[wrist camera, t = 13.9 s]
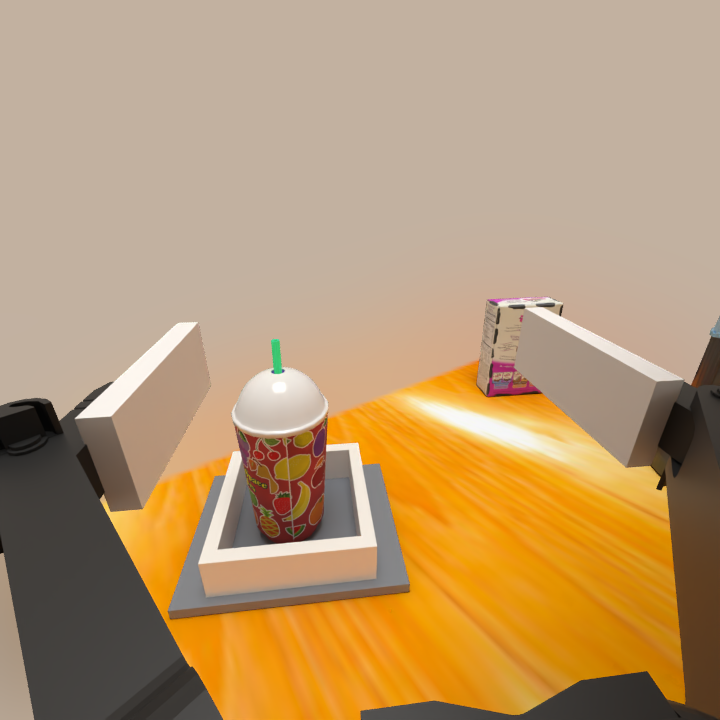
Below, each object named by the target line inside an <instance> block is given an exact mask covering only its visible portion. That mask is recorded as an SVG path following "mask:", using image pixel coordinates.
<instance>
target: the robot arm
mask: <svg viewBox="0 0 720 720" xmlns="http://www.w3.org/2000/svg"><path fill="white" fill-rule="evenodd" d="M710 335H711V339H710V342H709V344H708V346H707V348H706V351H705V353H704V356H703V358H702V360H701V363H700V365H699V368H698V370H697V372H696V375H695V377H694V380H693V382H692V384H691V385H689V384H688V383H686V382H684V379H682V378H680V377H678V376H676V375H674V374H672V373H670V372H668V371H667V370H665V369H662V368H661V367H659V366H656V365H655V364H653V363H651V362H649V361H647V360H645V359H643V358H641V357H639V356H637V355H635V354H633V353H631V352H629V351H627V350H625V349H623V348H621V347H619V346H617V345H615V344H613V343H612V342H610V341H608V340H606V339H604V338H602V337H600V336H598V335H596V334H593V333H592V332H590V331H588V330H586V329H584V328H582V327H580V326H578V325H576V324H574V323H572V322H570V321H568V320H566V319H564V318H562V317H560V316H558V315H556V314H555V313H553V312H551V311H549V310H547V309H545V308H543V307H535V308H525V309H524V314H523V320H522V326H521V331H520V337H519V343H518V349H517V354H516V360H515V366H514V368H515V369H516V370H517V371H518V372H519V373H521V374H522V375H523V376H524V377H525V378H526V379H527V380H528V381H529V382H531V383H532V384H533V385H534V386H535V387H536V388H537V389H538V390H540V391H541V392H542V393H543V394H544V395H545V396H546V397H547V398H549V399H550V400H551V401H552V402H553V403H554V404H555V405H556V406H558V407H559V408H560V409H561V410H562V411H563V412H564V413H565V414H567V415H568V416H569V417H570V418H571V419H572V420H573V421H574V422H576V423H577V424H578V425H579V426H580V427H581V428H582V429H583V430H585V431H586V432H587V433H588V434H589V435H590V436H591V437H592V438H594V439H595V440H596V441H597V442H598V443H599V444H600V445H601V446H602V447H604V448H605V449H606V450H607V451H608V452H609V453H610V454H611V455H613V456H614V457H615V458H616V459H617V460H618V461H619V462H620V463H622V464H623V465H624V466H625V467H626V468H628V467H640V466H651V465H652V467H653V468H654V469H655V470H656V471H657V472H658V473H659V474H660V475H661V478H660V481H659V483H658V486H657V488H656V489H658V490H662V488H663V486H667V496H668V507H669V518H670V529H671V540H672V551H673V561H674V572H675V583H676V594H677V605H678V616H679V627H680V638H681V649H682V660H683V671H684V682H685V697H686V702H685V705H684V704H681V703H677V702H674V701H671V700H667V699H666V698H665V697H664V695H663V694H662V692H661V691H660V689H659V688H658V686H657V685H656V683H655V682H654V681H653V679H652V678H651V676H650V675H649V673H648V672H647V671H646V672H638V673H631V674H624V675H617V676H610V677H602V678H595V679H588V680H581V681H579V682H577V683H576V684H574V685H572V686H570V687H569V688H567V689H565V690H564V691H562V692H560V693H558V694H557V695H555V696H553V697H552V698H550V699H548V700H546V701H545V702H543V703H541V704H540V705H538V706H536V707H534V708H533V709H531V710H529V711H528V712H526V713H524V714H521V715H508V714H503V713H497V712H492V711H487V710H481V709H476V708H471V707H465V706H460V705H455V704H449V703H444V702H439V701H429V702H422V703H415V704H407V705H400V706H393V707H386V708H379V709H371V710H364V711H361V720H720V317H719V319H718V321H717V323H716V325H715V327H714V328H712V329H711V331H710ZM210 387H211V382H210V377H209V372H208V367H207V363H206V358H205V352H204V348H203V342H202V337H201V333H200V327H199V323H198V322H191V323H177V324H176V325H175V326H174V327H173V328H172V329H171V330H170V331H169V332H168V333H166V334H165V335H164V336H163V337H162V338H161V339H160V340H159V341H158V342H157V343H156V344H155V345H154V346H153V347H151V348H150V349H149V350H148V351H147V352H146V353H145V354H144V355H143V356H142V357H141V358H140V359H139V360H137V361H136V362H135V363H134V364H133V365H132V366H131V367H130V368H129V369H128V370H127V371H126V372H124V373H123V374H122V375H121V376H120V377H119V378H118V379H117V380H116V381H115V382H109V383H107V384H106V385H104V386H102V387H100V388H98V389H96V390H94V391H93V392H92V393H91V394H90V395H89V396H87V397H86V398H85V399H84V400H83V402H80V403H79V404H78V405H77V406H76V407H75V408H74V410H72V411H70V412H69V413H68V414H67V415H66V416H65V417H64V418H62V419H61V420H60V421H59V420H58V417H57V415H56V413H55V410H54V408H53V405H52V403H51V402H50V401H49V400H47V399H41V398H33V399H24V400H19V401H15V402H10V403H7V404H4V405H1V406H0V554H1V553H4V557H5V562H6V567H7V573H8V579H9V584H10V589H11V595H12V600H13V606H14V611H15V617H16V622H17V627H18V633H19V638H20V644H21V649H22V655H23V660H24V665H25V671H26V676H27V681H28V687H29V693H30V698H31V704H32V709H33V714H34V720H223V718H222V717H221V715H220V713H219V711H218V709H217V707H216V706H215V704H214V702H213V700H212V698H211V696H210V695H209V693H208V691H207V689H206V687H205V686H204V684H203V682H202V680H201V679H200V677H199V675H198V674H197V672H196V671H195V669H194V668H193V667H190V666H189V665H188V664H187V662H186V660H185V658H184V657H183V655H182V653H181V651H180V649H179V647H178V646H177V644H176V642H175V640H174V638H173V636H172V634H171V632H170V631H169V629H168V627H167V625H166V623H165V621H164V619H163V618H162V616H161V614H160V612H159V610H158V608H157V606H156V604H155V603H154V601H153V599H152V597H151V595H150V593H149V591H148V589H147V588H146V586H145V584H144V582H143V580H142V578H141V576H140V574H139V573H138V571H137V569H136V567H135V565H134V563H133V561H132V560H131V558H130V556H129V554H128V552H127V550H126V548H125V546H124V545H123V543H122V541H121V539H120V537H119V535H118V533H117V531H116V530H115V528H114V526H113V524H112V522H111V520H110V518H109V516H108V515H107V513H106V511H105V509H104V507H103V505H102V503H101V502H100V498H101V497H102V495H103V494H104V496H105V498H106V501H107V504H108V506H109V509H110V511H111V512H114V511H126V510H137V509H143V508H144V506H145V504H146V502H147V500H148V499H149V497H150V495H151V493H152V491H153V489H154V488H155V486H156V484H157V482H158V480H159V479H160V477H161V475H162V473H163V471H164V470H165V468H166V466H167V464H168V462H169V461H170V459H171V457H172V455H173V453H174V451H175V450H176V448H177V446H178V444H179V443H180V441H181V439H182V437H183V435H184V434H185V432H186V430H187V428H188V426H189V425H190V423H191V421H192V419H193V417H194V416H195V414H196V412H197V410H198V408H199V406H200V405H201V403H202V401H203V399H204V398H205V396H206V394H207V392H208V390H209V389H210Z"/></svg>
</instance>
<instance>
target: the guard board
mask: <svg viewBox="0 0 720 720" xmlns="http://www.w3.org/2000/svg"><path fill="white" fill-rule="evenodd" d="M409 585H410V584H409V580H408V576H407V572H406V568H405V564H404V560H403V556H402V552H401V548H400V544H399V540H398V536H397V532H396V528H395V524H394V520H393V516H392V512H391V508H390V504H389V500H388V496H387V492H386V488H385V484H384V480H383V476H382V472H381V468H380V464H370V465H362V462H361V456H360V451H359V446H358V443H349V444H335V445H326V467H325V491H324V514H323V516H322V519H321V522H320V523H319V524H318V525H317V528H316V530H315V531H314V532H313V533H312V535H311V536H309V537H308V538H306V539H305V540H304V541H301V542H292V543H282V544H277V543H275V542H273V541H271V540H269V539H268V538H267V537H266V535H264V534H263V533H262V532H261V531H260V530H259V528H258V527H257V523H256V519H255V515H254V510H253V506H252V501H251V497H250V492H249V488H248V483H247V479H246V475H245V470H244V466H243V461H242V457H241V452H240V451H234V452H233V454H232V457H231V460H230V464H229V467H228V470H227V473H226V475H225V476H215V478H214V481H213V484H212V487H211V489H210V492H209V495H208V498H207V501H206V504H205V507H204V509H203V512H202V515H201V518H200V521H199V524H198V526H197V529H196V532H195V535H194V538H193V541H192V544H191V546H190V549H189V552H188V555H187V558H186V561H185V564H184V566H183V569H182V572H181V575H180V578H179V581H178V584H177V586H176V589H175V592H174V595H173V598H172V601H171V604H170V606H169V609H168V613H169V616H170V619H175V618H184V617H192V616H201V615H210V614H219V613H227V612H236V611H245V610H253V609H262V608H271V607H280V606H288V605H297V604H306V603H315V602H323V601H332V600H341V599H350V598H358V597H367V596H376V595H385V594H393V593H402V592H409Z"/></svg>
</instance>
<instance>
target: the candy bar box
mask: <svg viewBox="0 0 720 720" xmlns="http://www.w3.org/2000/svg"><path fill="white" fill-rule="evenodd" d="M535 307H543V308H545V309H547V310H549V311H551V312H553V313H555V314H556V315H558V316H560V317H561V313H562V308H563V303H562V302H559V301H557V300H554V299H551V298H550V297H531V298H530V297H529V298H509V299H490V300H489V299H488V300H487V304H486V312H485V320H484V321H485V322H484V329H483V336H482V344H481V353H480V360H479V368H478V376H477V386H478V387H479V389H481V390H482V391H483V393H484V394H485V395H486V396H487V397H492V396H506V395H519V394H532V393H542V392H541V391H540V390H538V389H537V388H536V387H535V386H534V385H533V384H532V383H531V382H529V381H528V380H527V379H526V378H525V377H524V376H523V375H522V374H521V373H519V372H518V371H517V370H516V369H515V368H514V366H515V360H516V354H517V349H518V343H519V337H520V331H521V326H522V320H523V314H524V309H525V308H535Z"/></svg>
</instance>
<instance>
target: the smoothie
mask: <svg viewBox="0 0 720 720" xmlns="http://www.w3.org/2000/svg"><path fill="white" fill-rule="evenodd" d="M271 344H272V355H273V367H274V368H270V369H267V370H264V371H262V372H260V373H258V374H257V375H255V376H254V377H253V378H252V379H250V381H249V382H248V383H247V384H246V385H245V386H244V388H243V390H242V391H241V394H240V396H239V399H238V401H237V403H236V404H235V406H234V408H233V410H232V413H231V416H232V420H233V423H234V425H235V430H236V435H237V439H238V443H239V448H240V452H241V457H242V461H243V466H244V470H245V475H246V479H247V483H248V488H249V492H250V497H251V501H252V506H253V510H254V515H255V519H256V523H257V527H258V528H259V530H260V531H261V532H262V533H263V534H264V535H266V537H267V538H268V539H269V540H271V541H273V542H275V543H277V544H282V543H292V542H301V541H304V540H305V539H306V538H308V537H309V536H311V535H312V533H313V532H314V531H315V530H316V528H317V525H318V524H319V523H320V522H321V519H322V516H323V514H324V491H325V467H326V442H327V414H328V401H327V400H326V398H325V397H324V395H323V394H321V392H320V390H319V388H318V387H317V385H316V384H315V383H314V382H313V380H312V379H311V378H310V377H308V376H307V375H306V374H304V373H303V372H301V371H299V370H296V369H292V368H288V367H282V366H281V354H280V342H279V339H273V340H271Z"/></svg>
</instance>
